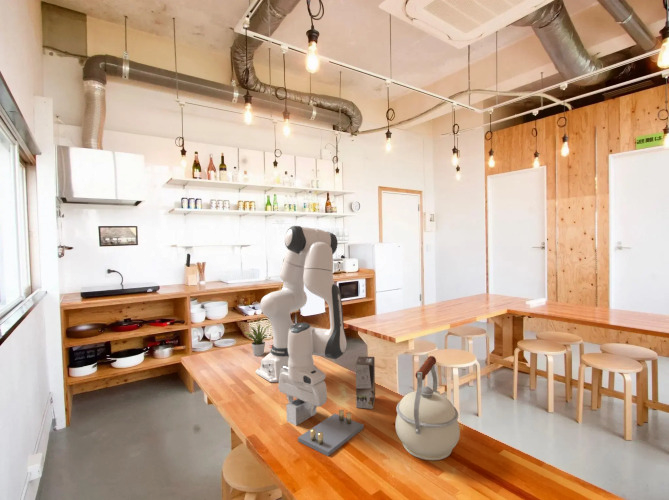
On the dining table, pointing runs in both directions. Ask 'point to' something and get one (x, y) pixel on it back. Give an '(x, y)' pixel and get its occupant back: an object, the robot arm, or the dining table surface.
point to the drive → (298, 411)
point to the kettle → (427, 419)
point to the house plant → (258, 341)
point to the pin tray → (331, 433)
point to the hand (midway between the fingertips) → (302, 410)
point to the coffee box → (365, 382)
